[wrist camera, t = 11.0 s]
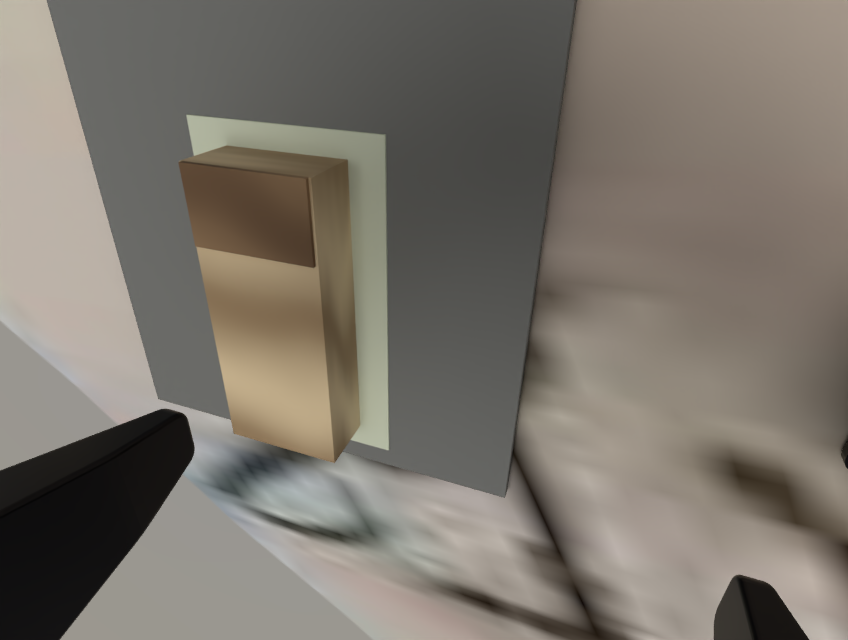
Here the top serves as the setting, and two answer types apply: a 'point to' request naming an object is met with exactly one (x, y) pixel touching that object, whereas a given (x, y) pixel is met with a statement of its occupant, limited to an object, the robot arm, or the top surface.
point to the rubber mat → (368, 187)
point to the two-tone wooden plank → (279, 292)
